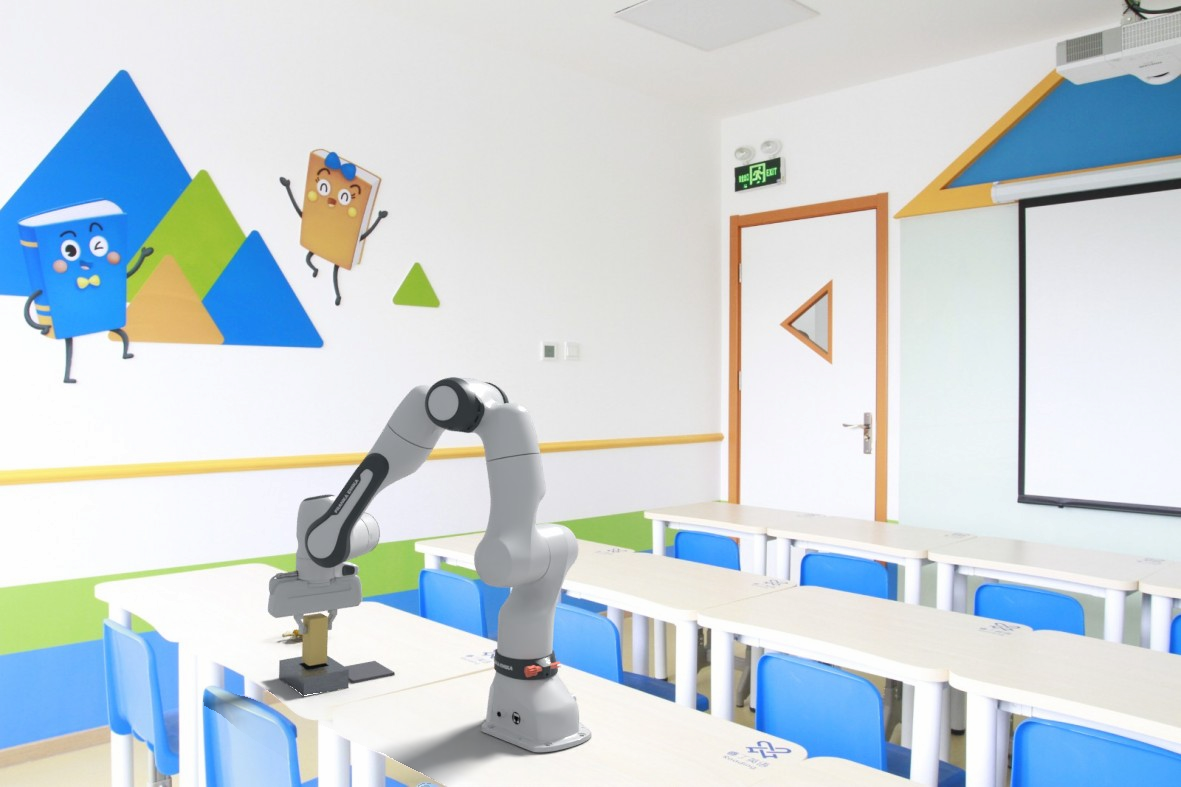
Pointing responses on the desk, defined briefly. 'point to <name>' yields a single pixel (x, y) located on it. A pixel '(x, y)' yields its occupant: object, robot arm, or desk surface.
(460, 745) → the desk surface
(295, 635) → the character toy
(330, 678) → the grey block with hole
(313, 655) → the square block
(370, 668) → the rubber mat
